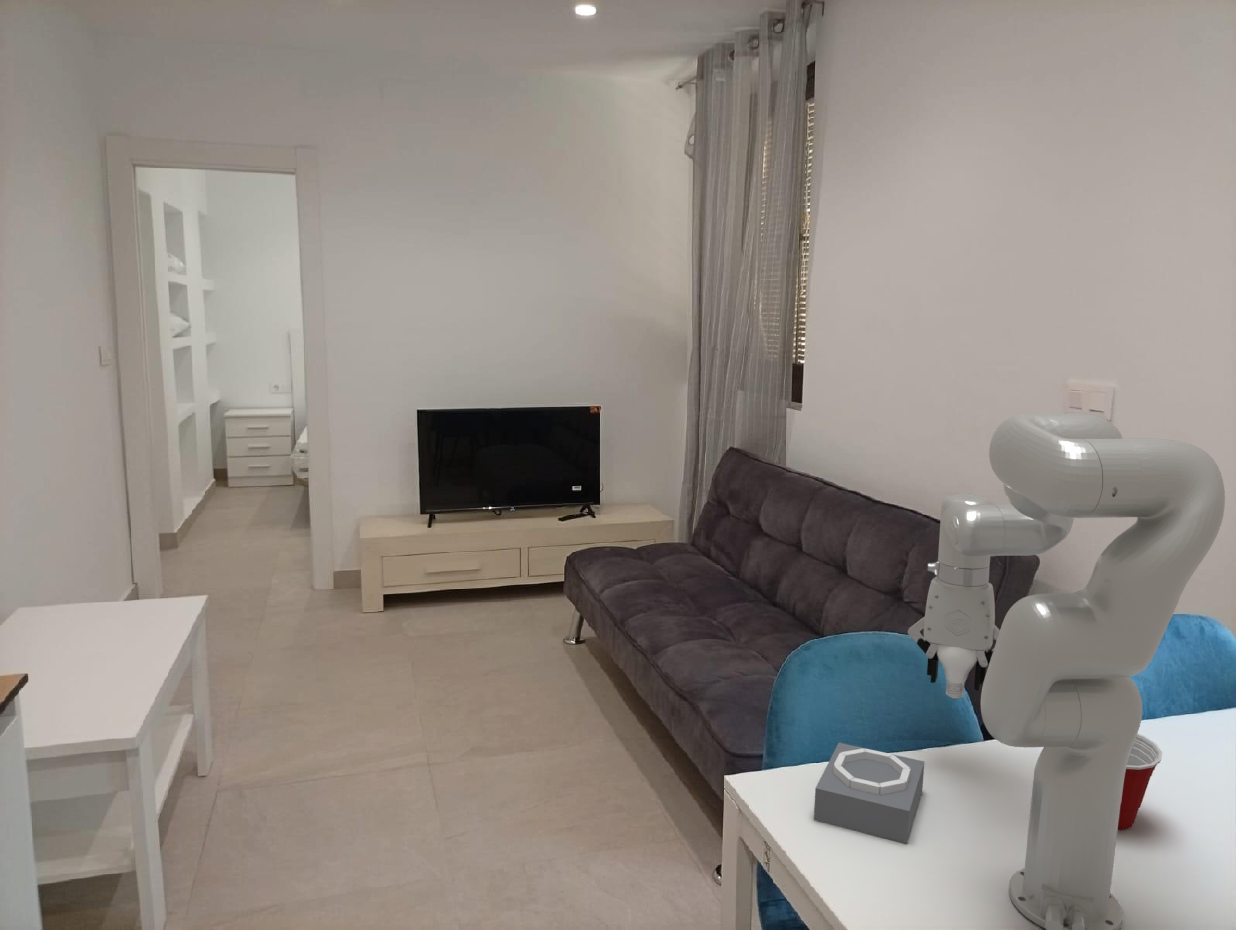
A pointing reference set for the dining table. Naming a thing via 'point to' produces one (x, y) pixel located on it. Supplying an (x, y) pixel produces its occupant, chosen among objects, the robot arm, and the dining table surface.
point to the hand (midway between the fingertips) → (955, 682)
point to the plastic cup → (1137, 778)
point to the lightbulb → (956, 667)
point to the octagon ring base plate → (870, 792)
